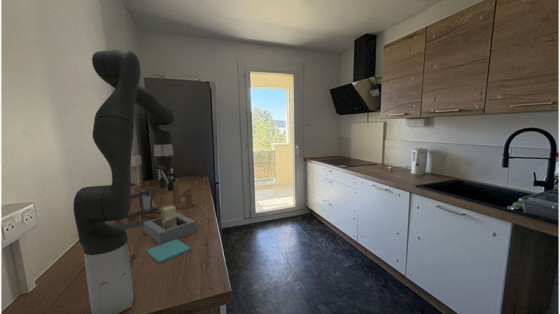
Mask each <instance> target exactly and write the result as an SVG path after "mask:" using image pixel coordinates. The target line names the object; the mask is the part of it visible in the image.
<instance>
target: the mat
mask: <svg viewBox="0 0 560 314" xmlns="http://www.w3.org/2000/svg"><path fill="white" fill-rule="evenodd" d="M191 250H192V248H191V247H190V246H188V245H187V244H185V243H183V242H182V241H180V240H179V239H178V238H177V239H174V240H172V241H169V242H166V243H163V244H161V245H160V244H158V245H157V246H155V247H151V248H148V249H146V250H145V252H146V254H147V255H148V256H149V257H151V258H152V259H153V260H154V261H156V263H157V264H162V263H164V262H166V261H168V260H171V259H174V258H176V257H179V256H180V255H182V254H184V253H187V252H189V251H191Z"/></svg>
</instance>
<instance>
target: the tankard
mask: <svg viewBox="0 0 560 314" xmlns="http://www.w3.org/2000/svg"><path fill="white" fill-rule="evenodd" d="M141 190H142V189H141V185H140V183H134V182H131V204H130V210H129V213H128V215H127V217H126V218H124V219H122V220H116V221H113V224H112V225H111V226H113V227H116V228H121V229H123V230H125V231H126V230H131V229H135V228H138V227H142V226H144V223H143V222H146V221H150V220H151V218H150V217H149V216H148V215H146V213H145V209H144V206H143V199H142V194H143V193H145V194H146V195H147V196H150V194H149V193H150V191H148V190H152V191H153V193H152V195H151V196H150V197H151V199H150V207H151V210H152V211H151V212H152V214H155V215H162V212H161V207H163V206H162V205H158V206H157V207H156V210H157V211H156V210H155V208H154V209H153V207H152V200H153V199H154V197H155V195H156V188H155V187H153V186H148V187H147V189H146V190H145V191H144V192H142V191H141Z"/></svg>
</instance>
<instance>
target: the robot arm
mask: <svg viewBox="0 0 560 314" xmlns="http://www.w3.org/2000/svg"><path fill="white" fill-rule="evenodd" d="M91 63H92V66H93V69H94V71H95V73H96V74H97V75H98V76H99V78H101V79H102V81H103V82H105V83H106V84H108V85H109V86H111V88H114V90H113V91H112V93H111V94H110V95H109V96H108V97H107V98H106V100H104V102H103V103H102V104H101V106H99V108H98V109H97V111H96V112H95V116H94V120H93V127H92V139H93V141H94V142H93V143H94V144H95V146H96V147H97V148H98V150H99V152H100V153H101V155H102V156H103V157H104V158H105V160H106V162H107V163H108V166H109V168H110V171H111V178H112V179H111V184H110V185H108V184H107V185H93V186H92V185H91V186H84V187H82V188H80V189H78V190H77V192H76V194H75V196H74V199H73V204H72V205H73V207H72V208H73V216H74V221H75V224H76V229H77V235H78V241H79V243H80V245H81V246H82V250H83V251H82V252H83V256H84V265H85V266H84V267H85V273H86V282H87V289H88V297H89V298H88V299H89V306H90V313H91V314H121V313H122V312H124V311H126V310H128V309H130V308H131V307H132V306H133V305H132V303H133V301H134V292H133V291H134V288H133V279H132V271H131V263H130V262H131V261H130V253H129V240H128V234H127V231H126V229H125V230H123V229H121V228H116V227H113V226H112V225H110V224H108V223H107V222H115V221H116V220H122V219H124V218H126V217H127V215H128V213H129V210H130V204H131V183H132V180H131V178H132V177H131V176H132V175H131V174H132V173H131V167H132V166H131V164H132V163H131V162H132V152H133V151H132V150H133V140H134V133H135V131H134V129H135V109H136V105H137V106H138V108H140V110H141V111H142V112H143V113H145V114H146V117H147V118H146V119H147V122H148V124H149V127H150V129H151V130H150V131H151V132H152V136H153V153H154V164H155V166H156V167H155V168H156V172H155V173H156V179H158V181H159V188H160V189H165V188H166V183H167V191H168V192H172V191H173V190H174V188H173V182H176V170H175V168H174V167H173V168H172V165H174V163H175V162H174V160H175V159H174V148H173V144H172V143H173V142H172V134H171V131H168V130H164V129H162V128H161V126H171V125H172V124H174V122H175V114H174V112H173V110H172V109H170V108H169V107H168V106H166V105H165V104H164V103H161V102H160V101H159V100H158V98H157V97H156V96H155V95H154V93H152V91H150V90H149V89H146V88H144V87H143V86H141V85H139V84H140V79H141V65H140V61H139V58H138V56H137V54H135V53H134V52H133V51H132V50H129V49H128V50H127V49H112V50H111V49H110V50H101V51H96V52H94V53H93V54H92V58H91Z"/></svg>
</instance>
